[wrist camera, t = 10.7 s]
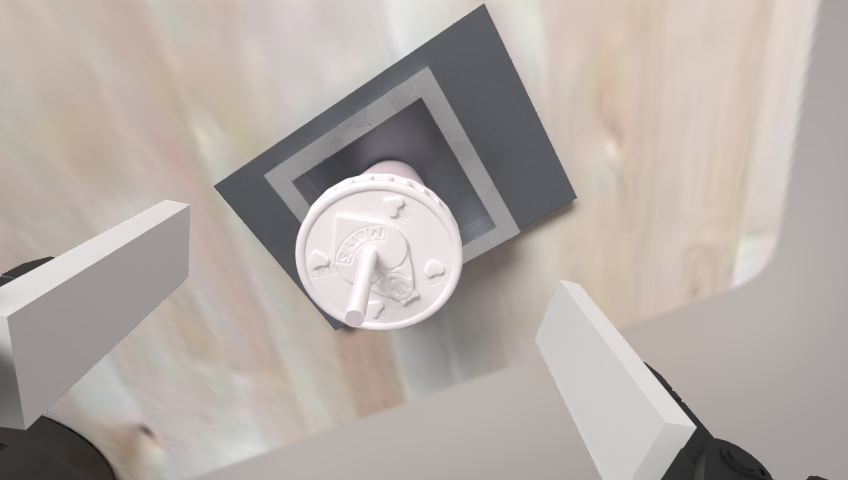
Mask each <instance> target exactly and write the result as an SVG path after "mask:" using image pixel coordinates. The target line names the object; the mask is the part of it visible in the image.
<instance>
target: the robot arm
mask: <svg viewBox="0 0 848 480" xmlns="http://www.w3.org/2000/svg"><path fill="white" fill-rule="evenodd" d="M189 225H190V205H189V204H185V203H180V202H175V201H170V200H164V201H162V202H160V203H158V204H156V205H155V206H153V207H151V208H149V209H147V210H145V211H143V212H141V213H139V214H138V215H136V216H134V217H132V218H130V219H128V220H126V221H124V222H122V223H120V224H119V225H117V226H115V227H113V228H111V229H109V230H107V231H105V232H103V233H102V234H100V235H98V236H96V237H94V238H92V239H90V240H88V241H86V242H85V243H83V244H81V245H79V246H77V247H75V248H73V249H71V250H69V251H68V252H66V253H64V254H62V255H60V256H58V257H56V258H55V257H46V258H42V259H39V260H35V261H31V262H28V263H24V264H22V265H20V266H18V267H16V268H14V269H12V270H10V271H8V272H6V273H4V274H2V276H1V277H0V480H114V479H113V476H112V473H111V471H110V469H109V467H108V466H107V464H106V462H105V461H104V460H103V458H102V457H101V456H100V455H99V454H98V452H97V451H96V450H95V449H94V448H93V447H91V446H90V445H89V444H88V443H87V442H86V441H84V440H83V439H82V438H80V437H79V436H78V435H76V434H75V433H73V432H72V431H70V430H68V429H66V428H65V427H63V426H61V425H59V424H57V423H55V422H53V421H50V420H48V419H46V418H43V417H40V416H41V415H42V414H43V413H44V412H45V411H46V410H48V409H49V408H50V407H51V406H52V405H53V404H54V403H55V402H56V401H57V400H58V399H59V398H60V397H61V396H62V395H63V394H65V393H66V392H67V391H68V390H69V389H70V388H71V387H72V386H73V385H74V384H75V383H76V382H77V381H78V380H79V379H80V378H82V377H83V376H84V375H85V374H86V373H87V372H88V371H89V370H90V369H91V368H92V367H93V366H94V365H95V364H96V363H97V362H99V361H100V360H101V359H102V358H103V357H104V356H105V355H106V354H107V353H108V352H109V351H110V350H111V349H112V348H113V347H115V346H116V345H117V344H118V343H119V342H120V341H121V340H122V339H123V338H124V337H125V336H126V335H127V334H128V333H129V332H130V331H132V330H133V329H134V328H135V327H136V326H137V325H138V324H139V323H140V322H141V321H142V320H143V319H144V318H145V317H146V316H147V315H149V314H150V313H151V312H152V311H153V310H154V309H155V308H156V307H157V306H158V305H159V304H160V303H161V302H162V301H163V300H164V299H166V298H167V297H168V296H169V295H170V294H171V293H172V292H173V291H174V290H175V289H176V288H177V287H178V286H179V285H180V284H181V283H183V282H184V281H185V280H186V279H187V278H188V262H189ZM535 342H536V344H537V346H538V348H539V350H540V352H541V354H542V356H543V358H544V360H545V362H546V364H547V366H548V368H549V370H550V373H551V375H552V377H553V379H554V381H555V383H556V385H557V387H558V389H559V391H560V393H561V395H562V397H563V400H564V401H565V403H566V406H567V408H568V410H569V412H570V414H571V416H572V418H573V420H574V422H575V424H576V426H577V428H578V430H579V433H580V435H581V437H582V438H583V441H584V443H585V445H586V447H587V449H588V451H589V453H590V455H591V457H592V459H593V461H594V463H595V466H596V468H597V470H598V472H599V474H600V476H601V478H602V480H773V479H772V477H771V475H770V473H769V472H768V471H767V470H766V468H765V467H764V466H763V465H762V464H761V463H760V462H759V461H758V460H757V459H755V458H754V457H753V456H752V455H750V454H749V453H748V452H746V451H745V450H743V449H741V448H740V447H739V446H736V445H734V444H732V443H730V442H727V441H725V440H721V439H717V438H716V439H715V438H713V436H712V435H711V434H710V433H709V431H708V430H707V429H706V428H705V427H704V426H703V424H702V423H701V422H700V421H699V420H698V418H697V417H696V416H695V415H694V414H693V413H692V411H691V410H690V409H689V408H688V407H687V405H686V404H685V403H684V402H681V400H682V399H681V398H680V397H679V396H678V395H677V393H676V392H675V391H672V388H671V386H670V385H669V384H668V383H667V382H666V380H665V379H664V378H663V377H662V376H661V375H660V374H659V373H658V372H656V371H655V370H654V369H653V368H651V367H650V366H649V365H648V364H646V363H645V362H643V361H642V360H641V359H640V358H639V357H638V355H637V354H636V353H635V352H634V351H633V349H632V348H631V347H630V346H629V344H628V343H627V342H626V341H625V340H624V338H623V337H622V336H621V335H620V333H619V332H618V331H617V330H616V329H615V327H614V326H613V325H612V324H611V322H610V321H609V320H608V319H607V318H606V316H605V315H604V314H603V313H602V312H601V310H600V309H599V308H598V307H597V305H596V304H595V303H594V302H593V301H592V299H591V298H590V297H589V296H588V295H587V293H586V292H585V291H584V290H583V288H582V287H581V286H580V285H579V284H578V283H573V282H568V281H563V280H559V282H558V285H557V287H556V289H555V292H554V294H553V297H552V299H551V302H550V304H549V306H548V309H547V311H546V314H545V316H544V319H543V321H542V323H541V326H540V328H539V331H538V333H537V336H536V338H535ZM807 480H827V479H824V478H821V477H819V476H809V477H808V479H807Z"/></svg>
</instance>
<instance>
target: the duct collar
mask: <svg viewBox="0 0 848 480" xmlns="http://www.w3.org/2000/svg"><path fill="white" fill-rule="evenodd" d="M385 160H397V161H401V162H404V163H406V164H408V165H409V166H411V167H412V168H413V169H414V170H415V171H416V172H417V174H418V175H419V177H420V178H421V180H422V182H423V183H424V185H425V186H426V188H428V189H430V190H431V191H433V192H434V193H435V194H436V195H437V196H438V197H439V198H440V199H441V200H442V201H443V202H444V203H445V204H446V205H447V206H448V208H449V210H450V212H451V213H452V215H453V217H454V219H455V221H456V222H457V224H458V228H459V233H460V237H461V241H462V256H463V260H462V264H464V263H466V262H468V261H470V260H472V259H473V258H475V257H477V256H479V255H481V254H483V253H484V252H486V251H488V250H490V249H492V248H493V247H495V246H497V245H499V244H501V243H503V242H504V241H506V240H508V239H510V238H512V237H514V236H515V235H517V234H519V233H521V232H520V230H519V229H521V228H523V227H525V226H527V225H529V224H530V223H532V222H534V221H536V220H538V219H539V218H541V217H543V216H545V215H547V214H549V213H550V212H552V211H554V210H556V209H558V208H559V207H561V206H563V205H565V204H567V203H569V202H570V201H572V200H574V199H576V198H577V197H576V194H575V192H574V190H573V188H572V186H571V184H570V182H569V180H568V178H567V176H566V174H565V172H564V169H563V167H562V165H561V163H560V161H559V159H558V157H557V155H556V153H555V151H554V149H553V146H552V144H551V142H550V140H549V138H548V136H547V134H546V132H545V130H544V128H543V126H542V123H541V121H540V119H539V117H538V115H537V113H536V111H535V109H534V107H533V105H532V103H531V100H530V98H529V96H528V94H527V92H526V90H525V88H524V86H523V84H522V82H521V80H520V77H519V75H518V73H517V71H516V69H515V67H514V65H513V63H512V61H511V59H510V57H509V54H508V52H507V50H506V48H505V46H504V44H503V42H502V40H501V38H500V36H499V34H498V31H497V29H496V27H495V25H494V23H493V21H492V19H491V17H490V15H489V13H488V11H487V8H486V6H485V4H482V5H481V6H480V7H478V8H477V9H475V10H474V11H472V12H471V13H469V14H468V15H466V16H465V17H463V18H462V19H460V20H459V21H457V22H456V23H454V24H453V25H451V26H450V27H448V28H447V29H446V30H444V31H443V32H441V33H440V34H438V35H437V36H435V37H434V38H432V39H431V40H429V41H428V42H426V43H425V44H423V45H422V46H420V47H419V48H417V49H416V50H414V51H413V52H412V53H410V54H409V55H407V56H406V57H404V58H403V59H401V60H400V61H398V62H397V63H395V64H394V65H392V66H391V67H389V68H388V69H386V70H385V71H383V72H382V73H380V74H379V75H378V76H376V77H375V78H373V79H372V80H370V81H369V82H367V83H366V84H364V85H363V86H361V87H360V88H358V89H357V90H355V91H354V92H352V93H351V94H349V95H348V96H346V97H345V98H343V99H342V100H341V101H339V102H338V103H336V104H335V105H333V106H332V107H330V108H329V109H327V110H326V111H324V112H323V113H321V114H320V115H318V116H317V117H315V118H314V119H312V120H311V121H309V122H308V123H307V124H305V125H304V126H302V127H301V128H299V129H298V130H296V131H295V132H293V133H292V134H290V135H289V136H287V137H286V138H284V139H283V140H281V141H280V142H278V143H277V144H275V145H274V146H273V147H271V148H270V149H268V150H267V151H265V152H264V153H262V154H261V155H259V156H258V157H256V158H255V159H253V160H252V161H250V162H249V163H247V164H246V165H244V166H243V167H241V168H240V169H239V170H237V171H236V172H234V173H233V174H231V175H230V176H228V177H227V178H225V179H224V180H222V181H221V182H219V183H218V184H216V185H215V186H214V187H215V188H216V190H217V191H218V192H219V193H220V194H221V196H222V197H223V198H224V199H225V200H226V201H227V203H228V204H229V205H230V206H231V207H232V209H233V210H234V211H235V212H236V213H237V214H238V216H239V217H240V218H241V219H242V220H243V222H244V223H245V224H246V225H247V226H248V228H249V229H250V230H251V231H252V232H253V233H254V235H255V236H256V237H257V238H258V239H259V241H260V242H261V243H262V244H263V245H264V246H265V248H266V249H267V250H268V251H269V252H270V254H271V255H272V256H273V257H274V258H275V259H276V261H277V262H278V263H279V264H280V265H281V267H282V268H283V269H284V270H285V271H286V272H287V274H288V275H289V276H290V277H291V278H292V280H293V281H294V282H295V283H296V284H297V285H298V287H299V288H300V289H301V290H302V291H303V293H304V294H305V295H306V296H307V297H308V299H309V300H310V301H311V302H312V303H313V304H314V306H315V307H316V308H317V309H318V310H319V312H320V313H321V314H322V315H323V316H324V317H325V319H326V320H327V321H328V322H329V323H330V325H331V326H332V327H333V328H334V329H335V330H338V329H340V328H341V327H343V326H345V325H347V324H345V323H343V322H341V321H339V320H337V319H335V318H334V317H332V316H331V315H329V314H328V313H326V312H325V311H324V310H323V309H321V308H320V307H319V306H318V305H317V304H316V303H315V302H314V300H313V299H312V298H311V297H310V295H309V294H308V293H307V291H306V289H305V288H304V286H303V284H302V282H301V279H300V277H299V274H298V270H297V266H296V256H295V250H296V241H297V236H298V233H299V230H300V228H301V225H302V223H303V221H304V220H305V218H306V216H307V214H308V212H309V210H310V208H311V206H312V205H313V204H314V203H315V202H316V201H317V200H318V199H319V198H320V196H321V195H322V194H323V193H324V192H325V191H326V190H328V189H329V188H331V187H333V186H335V185H336V184H338V183H340V182H342V181H344V180H345V179H348V178H352V177H356V176H360V175H361V174H363V173H364V172H365V171H367V170H368V169H369V168H371V167H372V166H373V165H375V164H377V163H379V162H381V161H385Z"/></svg>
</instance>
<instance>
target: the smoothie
mask: <svg viewBox="0 0 848 480" xmlns="http://www.w3.org/2000/svg"><path fill="white" fill-rule="evenodd" d="M295 256H296V266H297V270H298V274H299V277H300V279H301V282H302V284H303V286H304V288H305V289H306V291H307V293H308V294H309V295H310V297H311V298H312V299H313V300H314V302H315V303H316V304H317V305H318V306H319V307H320V308H321V309H323V310H324V311H325V312H326V313H328V314H329V315H331V316H332V317H334V318H335V319H337V320H339V321H341V322H343V323H345V324H348V325H349V326H351V327H357V328H361V329H366V330H374V331H389V330H397V329H402V328H406V327H409V326H412V325H415V324H417V323H419V322H422V321H423V320H425V319H427V318H429V317H430V316H432V315H433V314H434V313H436V312H437V311H438V310H439V309H440V308H441V307H442V306H443V305H444V304H445V303H446V302H447V301H448V299H449V298H450V296H451V295H452V293H453V292H454V290H455V288H456V286H457V283H458V281H459V278H460V274H461V270H462V260H463V256H462V241H461V237H460V233H459V228H458V224H457V222H456V221H455V219H454V217H453V215H452V213H451V212H450V210H449V208H448V206H447V205H446V204H445V203H444V202H443V201H442V200H441V199H440V198H439V197H438V196H437V195H436V194H435V193H434V192H433V191H431V190H430V189H428V188H426V186H425V185H424V183H423V182H422V180H421V178H420V177H419V175H418V174H417V172H416V171H415V170H414V169H413V168H412V167H411V166H409V165H408V164H406V163H404V162H401V161H397V160H385V161H381V162H379V163H377V164H375V165H373V166H372V167H371V168H369V169H368V170H367V171H365V172H364V173H363V174H361V175H360V176H356V177H352V178H348V179H345V180H344V181H342V182H340V183H338V184H336V185H335V186H333V187H331V188H329V189H328V190H326V191H325V192H324V193H323V194H322V195H321V196H320V198H319V199H318V200H317V201H316V202H315V203H314V204H313V205H312V206H311V208H310V210H309V212H308V214H307V216H306V218H305V220H304V221H303V223H302V225H301V228H300V230H299V233H298V236H297V241H296V250H295Z"/></svg>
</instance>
